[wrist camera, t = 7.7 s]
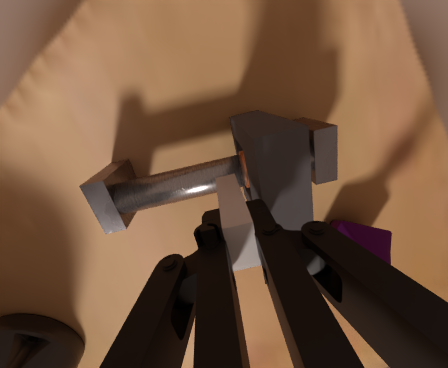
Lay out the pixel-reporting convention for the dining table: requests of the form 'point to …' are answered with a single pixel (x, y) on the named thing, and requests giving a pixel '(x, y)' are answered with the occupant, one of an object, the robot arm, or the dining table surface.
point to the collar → (276, 165)
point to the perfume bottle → (367, 237)
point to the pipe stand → (190, 180)
